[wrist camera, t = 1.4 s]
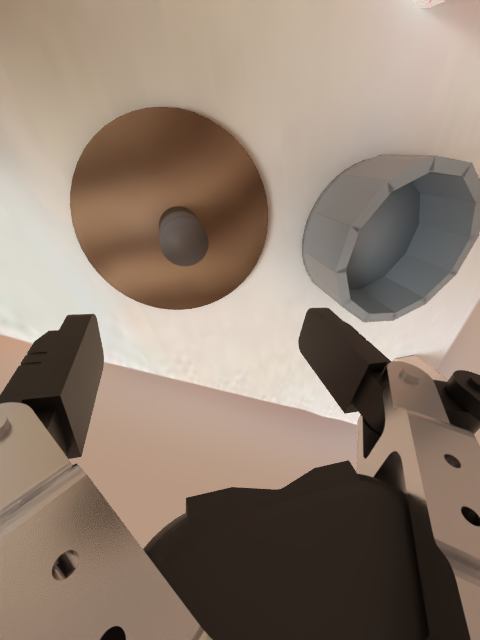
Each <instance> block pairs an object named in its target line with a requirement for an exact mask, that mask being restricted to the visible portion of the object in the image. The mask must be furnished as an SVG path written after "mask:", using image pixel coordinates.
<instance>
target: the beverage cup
mask: <svg viewBox="0 0 480 640" xmlns="http://www.w3.org/2000/svg"><path fill="white" fill-rule="evenodd" d="M412 1H413V2H414V3H415V4H416V5H417V6H418V7H419V8H430V7H432V6H435V5H437V4H440V3H442V2H444V1H447V0H412Z"/></svg>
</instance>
